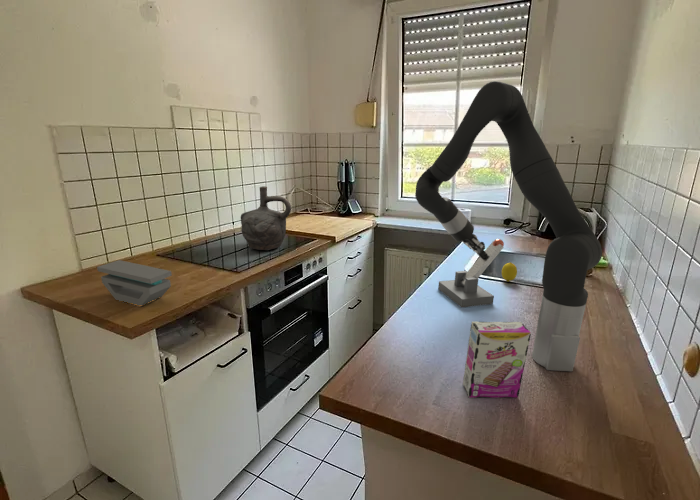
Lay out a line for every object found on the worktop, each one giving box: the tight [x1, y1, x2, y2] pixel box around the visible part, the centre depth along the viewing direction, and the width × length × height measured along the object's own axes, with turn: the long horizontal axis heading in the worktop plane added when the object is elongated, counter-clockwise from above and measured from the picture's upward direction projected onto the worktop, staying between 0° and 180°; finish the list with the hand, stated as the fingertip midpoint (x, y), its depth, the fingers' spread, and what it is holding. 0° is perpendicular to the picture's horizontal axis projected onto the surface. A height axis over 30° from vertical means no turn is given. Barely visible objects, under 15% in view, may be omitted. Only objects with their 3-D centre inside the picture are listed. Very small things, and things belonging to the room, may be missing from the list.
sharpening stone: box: [96, 259, 173, 306], centre depth 125 cm, size 25×8×11 cm, turn 66°
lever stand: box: [437, 270, 495, 308], centre depth 131 cm, size 16×12×8 cm
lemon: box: [501, 261, 518, 282], centre depth 145 cm, size 6×6×8 cm
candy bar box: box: [462, 321, 532, 399], centre depth 81 cm, size 11×5×16 cm, turn 92°
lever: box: [460, 238, 505, 286], centre depth 130 cm, size 4×4×20 cm
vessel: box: [240, 186, 292, 251], centre depth 180 cm, size 24×22×30 cm
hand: (484, 256), depth 130 cm, fingers closed
